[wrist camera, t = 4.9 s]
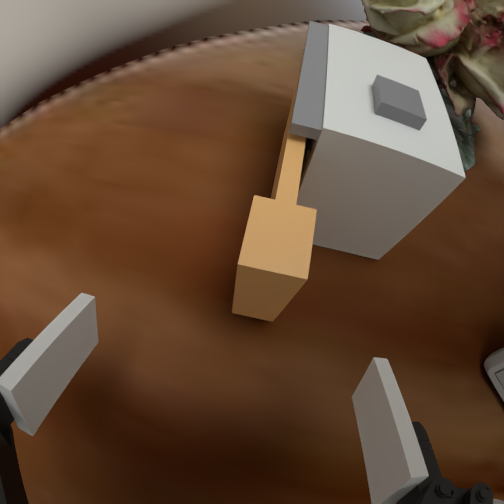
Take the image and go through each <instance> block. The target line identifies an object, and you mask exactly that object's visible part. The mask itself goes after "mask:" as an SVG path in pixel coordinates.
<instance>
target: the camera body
mask: <svg viewBox="0 0 504 504" xmlns="http://www.w3.org/2000/svg"><path fill="white" fill-rule="evenodd" d="M289 133H290V134H294V135H298V136H302V137H306V142H305V149H304V156H303V163H302V170H301V177H300V184H299V190H298V197H297V203H296V205H300V206H304V207H308V208H313V209H317V212H316V221H315V229H314V236H313V245H317V246H322V247H326V248H330V249H335V250H339V251H343V252H347V253H351V254H356V255H360V256H364V257H368V258H372V259H376V260H379V259H380V258H381V257H382V256H383V255H385V254H386V253H387V252H388V251H389V250H390V249H391V248H393V247H394V246H395V245H396V244H397V243H398V242H399V241H400V240H401V239H403V238H404V237H405V236H406V235H407V234H408V233H409V232H410V231H411V230H412V229H414V228H415V227H416V226H417V225H418V224H419V223H420V222H421V221H422V220H423V219H424V218H425V217H426V216H427V215H429V214H430V213H431V212H432V211H433V210H434V209H435V208H436V207H437V206H438V205H439V204H440V203H441V202H442V201H443V200H444V199H445V198H446V197H447V196H448V195H449V194H450V193H451V192H452V191H453V190H454V189H455V188H456V187H457V186H458V185H459V184H460V183H461V182H462V181H463V180H464V179H465V178H466V177H465V173H464V169H463V165H462V161H461V157H460V153H459V149H458V146H457V142H456V139H455V135H454V132H453V129H452V126H451V122H450V119H449V116H448V113H447V110H446V107H445V105H444V102H443V99H442V96H441V94H440V91H439V88H438V86H437V83H436V81H435V78H434V76H433V73H432V71H431V69H430V66H429V64H428V62H427V59H426V58H424V57H422V56H420V55H417V54H415V53H413V52H410V51H408V50H406V49H403V48H401V47H398V46H396V45H393V44H390V43H388V42H385V41H382V40H380V39H377V38H374V37H371V36H368V35H365V34H362V33H359V32H356V31H353V30H349V29H346V28H343V27H339V26H335V25H332V24H329V26H328V25H324V24H320V23H316V22H312V21H310V23H309V27H308V32H307V38H306V44H305V49H304V55H303V60H302V66H301V71H300V76H299V82H298V87H297V93H296V98H295V103H294V108H293V114H292V119H291V124H290V129H289Z"/></svg>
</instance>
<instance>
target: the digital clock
mask: <svg viewBox="0 0 504 504" xmlns="http://www.w3.org/2000/svg"><path fill="white" fill-rule="evenodd" d="M484 368H485V370H486V372H487V374H488V376H489V378H490V379H491V381H492V383H493V385H494V387H495V388H496V390H497V392H498V393H499V395H500V397H501V398H502V400H503V402H504V347H503V348H501V349H499V350H497V351H495V352H494V353H492V354H490V355H489V356H488V357H487V358H486V360H485V362H484Z"/></svg>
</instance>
